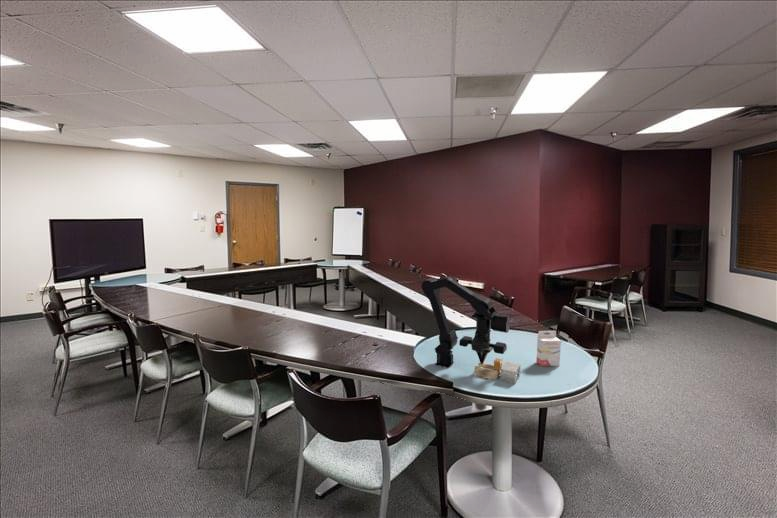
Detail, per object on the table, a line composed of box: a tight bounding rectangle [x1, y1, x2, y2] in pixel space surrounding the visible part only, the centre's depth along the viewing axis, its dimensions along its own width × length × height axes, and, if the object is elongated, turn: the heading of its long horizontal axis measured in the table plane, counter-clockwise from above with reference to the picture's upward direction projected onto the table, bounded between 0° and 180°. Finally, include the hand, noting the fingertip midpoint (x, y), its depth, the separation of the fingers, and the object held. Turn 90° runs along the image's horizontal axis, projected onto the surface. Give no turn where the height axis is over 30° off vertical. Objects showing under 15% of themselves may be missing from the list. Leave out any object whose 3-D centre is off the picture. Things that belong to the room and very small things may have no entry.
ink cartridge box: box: [536, 330, 562, 367], centre depth 167 cm, size 9×5×15 cm, turn 92°
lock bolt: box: [493, 358, 503, 375], centre depth 156 cm, size 8×3×5 cm, turn 59°
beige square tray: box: [472, 361, 500, 381], centre depth 160 cm, size 10×10×3 cm
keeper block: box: [499, 361, 521, 385], centre depth 155 cm, size 6×8×5 cm
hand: (482, 363), depth 161 cm, fingers closed
